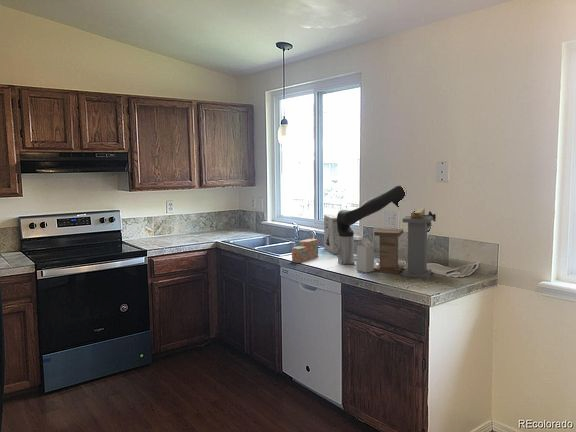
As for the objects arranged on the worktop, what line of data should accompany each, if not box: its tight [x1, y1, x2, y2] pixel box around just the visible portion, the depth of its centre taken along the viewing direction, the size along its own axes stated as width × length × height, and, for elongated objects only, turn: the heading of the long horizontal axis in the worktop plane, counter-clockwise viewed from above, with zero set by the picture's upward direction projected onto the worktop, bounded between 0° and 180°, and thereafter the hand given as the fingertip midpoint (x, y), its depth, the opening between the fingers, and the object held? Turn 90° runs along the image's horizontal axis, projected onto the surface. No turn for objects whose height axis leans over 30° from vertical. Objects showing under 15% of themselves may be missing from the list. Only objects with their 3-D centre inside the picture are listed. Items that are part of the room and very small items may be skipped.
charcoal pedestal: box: [401, 215, 433, 279], centre depth 256 cm, size 14×14×32 cm
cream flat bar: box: [411, 207, 426, 219], centre depth 260 cm, size 23×6×3 cm, turn 156°
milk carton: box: [356, 237, 375, 273], centre depth 268 cm, size 7×7×19 cm
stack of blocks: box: [291, 238, 319, 263], centre depth 303 cm, size 21×6×12 cm, turn 143°
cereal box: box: [323, 213, 339, 255], centre depth 327 cm, size 22×8×25 cm, turn 10°
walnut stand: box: [373, 228, 404, 274], centre depth 269 cm, size 14×14×23 cm
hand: (421, 212), depth 269 cm, fingers open, 8 cm apart
